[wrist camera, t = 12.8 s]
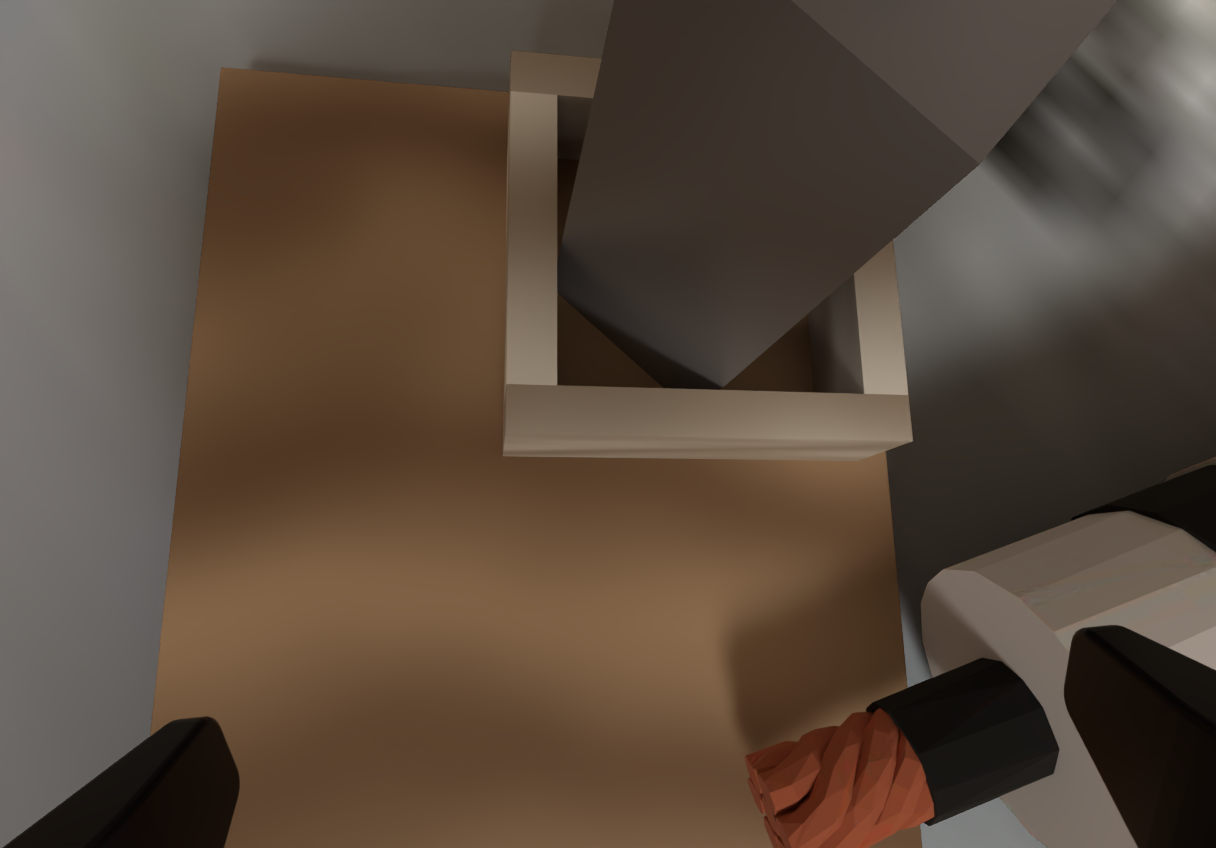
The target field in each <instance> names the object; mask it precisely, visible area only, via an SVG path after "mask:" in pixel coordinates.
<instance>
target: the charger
mask: <svg viewBox="0 0 1216 848" xmlns="http://www.w3.org/2000/svg"><path fill="white" fill-rule="evenodd" d="M1116 1H1117V0H614V5H613V9H612V14H611V18H610V23H609V28H608V32H607V37H606V41H605V46H604V50H603V55H602V60H601V64H600V69H599V73H598V78H597V82H596V87H595V92H594V96H593V101H592V105H591V110H590V114H589V119H588V124H587V128H586V133H585V137H584V142H583V147H582V151H581V156H580V160H579V165H578V169H577V174H576V179H575V183H574V188H573V192H572V197H571V201H570V206H569V211H568V215H567V220H566V224H565V229H564V233H563V238H562V243H561V247H560V252H559V256H558V261H557V293H558V294H559V295H560V296H561V297H562V298H564V299H565V300H566V301H567V302H568V303H569V304H570V305H571V306H573V307H574V308H575V309H576V310H577V311H578V312H579V313H580V314H581V315H583V316H584V317H585V318H586V319H587V320H588V321H589V322H590V323H592V324H593V325H594V326H595V327H596V328H597V329H598V330H599V331H600V332H602V333H603V334H604V335H605V336H606V337H607V338H608V339H609V340H610V341H612V342H613V343H614V344H615V345H616V346H617V347H618V348H619V349H621V350H622V351H623V352H624V353H625V354H626V355H627V356H628V357H629V358H631V359H632V360H633V361H634V362H635V363H636V364H637V365H638V366H640V367H641V368H642V369H643V370H644V371H645V372H646V373H647V374H648V375H650V376H651V377H652V378H653V379H654V380H655V381H656V382H657V383H659V384H660V385H661V386H662V387H663V388H670V389H707V390H721V389H722V388H723V387H724V386H725V385H727V384H728V383H729V382H730V381H731V380H732V379H733V378H735V377H736V376H737V375H738V374H739V373H740V372H742V371H743V370H744V369H745V368H746V367H747V366H748V365H750V364H751V363H752V362H753V361H754V360H755V359H756V358H758V357H759V356H760V355H761V354H762V353H763V352H764V351H766V350H767V349H768V348H769V347H770V346H771V345H773V344H774V343H775V342H776V341H777V340H778V339H779V338H781V337H782V336H783V335H784V334H785V333H786V332H787V331H789V330H790V329H791V328H792V327H793V326H794V325H795V324H797V323H798V322H799V321H800V320H801V319H802V318H804V317H805V316H806V315H807V314H808V313H809V312H810V311H812V310H813V309H814V308H815V307H816V306H817V305H818V304H820V303H821V302H822V301H823V300H824V299H825V298H826V297H828V296H829V295H830V294H831V293H832V292H833V291H835V290H836V289H837V288H838V287H839V286H840V285H841V284H843V283H844V282H845V281H846V280H847V279H848V278H849V277H851V276H852V275H853V274H854V273H855V272H856V271H857V270H859V269H860V268H861V267H862V266H863V265H864V264H866V263H867V262H868V261H869V260H870V259H871V258H872V257H874V256H875V255H876V254H877V253H878V252H879V251H880V250H882V249H883V248H884V247H885V246H886V245H887V244H888V243H890V242H891V241H892V240H893V239H894V238H895V237H897V236H898V235H899V234H900V233H901V232H902V231H903V230H905V229H906V228H907V227H908V226H909V225H910V224H911V223H913V222H914V221H915V220H916V219H917V218H918V217H919V216H921V215H922V214H923V213H924V212H925V211H926V210H928V209H929V208H930V207H931V206H932V205H933V204H934V203H936V202H937V201H938V200H939V199H940V198H941V197H942V196H944V195H945V194H946V193H947V192H948V191H949V190H950V189H952V188H953V187H954V186H955V185H956V184H957V183H959V182H960V181H961V180H962V179H963V178H964V177H965V176H967V175H968V174H969V173H970V172H971V171H972V170H973V169H975V168H976V167H977V166H978V165H979V164H980V163H981V162H982V161H983V159H984V158H985V157H986V156H987V155H988V154H989V152H990V151H991V150H992V149H993V148H994V146H995V145H996V144H997V143H998V142H999V140H1000V139H1001V138H1002V137H1003V136H1004V135H1005V133H1006V132H1007V131H1008V130H1009V129H1010V127H1011V126H1012V125H1013V124H1014V123H1015V121H1016V120H1017V119H1018V118H1019V117H1020V116H1021V114H1022V113H1023V112H1024V111H1025V110H1026V108H1027V107H1028V106H1029V105H1030V104H1031V102H1032V101H1033V100H1034V99H1035V98H1036V97H1037V95H1038V94H1039V93H1040V92H1041V91H1042V89H1043V88H1044V87H1045V86H1046V85H1047V83H1048V82H1049V81H1050V80H1051V79H1052V78H1053V76H1054V75H1055V74H1056V73H1057V72H1058V70H1059V69H1060V68H1061V67H1062V66H1063V64H1064V63H1065V62H1066V61H1067V60H1068V59H1069V57H1070V56H1071V55H1072V54H1073V53H1074V51H1075V50H1076V49H1077V48H1078V47H1079V45H1080V44H1081V43H1082V42H1083V41H1084V40H1085V38H1086V37H1087V36H1088V35H1089V34H1090V32H1091V31H1092V30H1093V29H1094V28H1095V26H1096V25H1097V24H1098V23H1099V22H1100V21H1101V19H1102V18H1103V17H1104V16H1105V15H1106V13H1107V12H1108V11H1109V10H1110V9H1111V7H1112V6H1113V5H1114V4H1115V3H1116Z"/></svg>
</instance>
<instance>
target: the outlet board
mask: <svg viewBox="0 0 1216 848" xmlns="http://www.w3.org/2000/svg"><path fill="white" fill-rule="evenodd" d="M601 60H602V59H600V58H589V57H579V56H568V55H557V54H546V53H536V52H525V51H514V50H511V66H510V86H509V92H504V91H492V90H480V89H468V88H457V87H445V86H433V85H421V84H409V83H398V82H386V81H374V80H362V79H351V78H339V77H327V76H315V75H303V74H292V73H280V72H268V71H256V70H245V69H233V68H221V73H220V83H219V92H218V102H217V111H216V120H215V130H214V139H213V149H212V158H211V168H210V177H209V186H208V196H207V205H206V215H205V224H204V234H203V243H202V252H201V262H200V271H199V281H198V290H197V299H196V309H195V318H194V328H193V337H192V347H191V356H190V365H189V375H188V384H187V394H186V403H185V413H184V422H183V431H182V441H181V450H180V460H179V469H178V478H177V488H176V497H175V507H174V516H173V526H172V535H171V544H170V554H169V563H168V573H167V582H166V592H165V601H164V610H163V620H162V629H161V639H160V648H159V658H158V667H157V676H156V686H155V695H154V705H153V714H152V723H151V733H150V736H151V735H153V734H154V733H155V732H157V731H158V730H159V729H161V728H162V727H163V726H165V725H166V724H167V723H169V722H171V721H173V720H177V719H183V718H193V717H203V716H208V717H213V718H214V719H215V720H216V721H217V722H218V723H219V725H220V726H221V729H222V731H223V734H224V736H225V739H226V741H227V744H228V746H229V749H230V751H231V754H232V756H233V759H234V761H235V763H236V766H237V768H238V772H239V777H240V790H239V796H238V800H237V804H236V807H235V811H234V815H233V818H232V822H231V825H230V829H229V833H228V836H227V840H226V843H225V847H224V848H773V845H772V843H771V841H770V838H769V836H768V833H767V831H766V828H765V826H764V816H767V815H766V812H765V813H762V814H761V812H760V810H759V809H758V807H757V805H756V803H755V801H754V798H753V795H752V793H751V790H750V787H749V784H748V780H747V779H748V778H750V775H749V773H748V769H747V766H746V762H745V755H748V754H751V753H753V752H756V751H759V750H762V749H764V748H767V747H770V746H773V745H775V744H778V743H781V742H784V741H794V742H798V741H799V739H800V738H801V736H802V735H804V734H806V733H808V732H810V731H812V730H814V729H818V728H824V727H829V726H840V725H841V724H842V723H843V722H844V721H845V720H846V719H847V718H848V717H849V716H850V715H851V714H852V713H856V712H866V708H867V707H868V706H869V705H870V704H871V703H872V702H874V701H877V700H879V699H882V698H884V697H887V696H889V695H891V694H894V693H896V692H899V691H901V690H904V689H906V688H907V677H906V666H905V655H904V644H903V633H902V623H901V612H900V601H899V590H898V579H897V568H896V557H895V546H894V535H893V525H892V514H891V503H890V492H889V481H888V470H887V459H886V451H887V450H890V449H892V448H895V447H898V446H901V445H904V444H906V443H909V442H912V441H913V436H912V426H911V416H910V406H909V396H908V386H907V376H906V366H905V356H904V346H903V336H902V326H901V316H900V306H899V296H898V286H897V276H896V266H895V256H894V246H893V240H892V241H891V242H890V243H888V244H887V245H886V246H885V247H884V248H883V249H882V250H880V251H879V252H878V253H877V254H876V255H875V256H874V257H872V258H871V259H870V260H869V261H868V262H867V263H866V264H864V265H863V266H862V267H861V268H860V269H859V270H857V271H856V272H855V273H854V274H853V275H852V276H851V277H849V278H848V279H847V280H846V281H845V282H844V283H843V284H841V285H840V286H839V287H838V288H837V289H836V290H835V291H833V292H832V293H831V294H830V295H829V296H828V297H826V298H825V299H824V300H823V301H822V302H821V303H820V304H818V305H817V306H816V307H815V308H814V309H813V310H812V311H810V312H809V313H808V314H807V315H806V316H805V317H804V318H802V319H801V320H800V321H799V322H798V323H797V324H795V325H794V326H793V327H792V328H791V329H790V330H789V331H787V332H786V333H785V334H784V335H783V336H782V337H781V338H779V339H778V340H777V341H776V342H775V343H774V344H773V345H771V346H770V347H769V348H768V349H767V350H766V351H764V352H763V353H762V354H761V355H760V356H759V357H758V358H756V359H755V360H754V361H753V362H752V363H751V364H750V365H748V366H747V367H746V368H745V369H744V370H743V371H742V372H740V373H739V374H738V375H737V376H736V377H735V378H733V379H732V380H731V381H730V382H729V383H728V384H727V385H725V386H724V387H723V388H722V389H721V390H707V389H670V388H663V387H662V386H661V385H660V384H659V383H657V382H656V381H655V380H654V379H653V378H652V377H651V376H650V375H648V374H647V373H646V372H645V371H644V370H643V369H642V368H641V367H640V366H638V365H637V364H636V363H635V362H634V361H633V360H632V359H631V358H629V357H628V356H627V355H626V354H625V353H624V352H623V351H622V350H621V349H619V348H618V347H617V346H616V345H615V344H614V343H613V342H612V341H610V340H609V339H608V338H607V337H606V336H605V335H604V334H603V333H602V332H600V331H599V330H598V329H597V328H596V327H595V326H594V325H593V324H592V323H590V322H589V321H588V320H587V319H586V318H585V317H584V316H583V315H581V314H580V313H579V312H578V311H577V310H576V309H575V308H574V307H573V306H571V305H570V304H569V303H568V302H567V301H566V300H565V299H564V298H562V297H561V296H560V295H559V294H558V293H557V261H558V256H559V252H560V247H561V243H562V238H563V233H564V229H565V224H566V220H567V215H568V211H569V206H570V201H571V197H572V192H573V188H574V183H575V179H576V174H577V169H578V165H579V160H580V156H581V151H582V147H583V142H584V137H585V133H586V128H587V124H588V119H589V114H590V110H591V105H592V101H593V96H594V92H595V87H596V82H597V78H598V73H599V69H600V64H601ZM869 848H922V840H921V829H920V825H918V826H916V827H912V828H908V829H903V830H898V831H897V832H896V833H894V834H892V835H891V836H889V837H887V838H885V839H883V840H881V841H880V842H878V843H876V844H874V845H872V846H870V847H869Z"/></svg>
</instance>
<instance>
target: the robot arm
mask: <svg viewBox="0 0 1216 848" xmlns="http://www.w3.org/2000/svg"><path fill="white" fill-rule="evenodd" d="M1064 700H1065V705H1066V708H1067V711H1068V713H1069V716H1070V718H1071V720H1072V722H1073V723H1074V725H1075V727H1076V729H1077V731H1078V733H1079V735H1080V737H1081V739H1082V741H1083V743H1084V745H1085V747H1086V749H1087V751H1088V753H1089V755H1090V757H1091V759H1092V760H1093V762H1094V764H1095V766H1096V768H1097V770H1098V772H1099V774H1100V776H1101V778H1102V780H1103V782H1104V784H1105V786H1106V788H1107V790H1108V792H1109V794H1110V795H1111V797H1112V799H1113V801H1114V803H1115V805H1116V807H1117V809H1118V811H1119V813H1120V815H1121V817H1122V819H1123V821H1124V823H1125V825H1126V827H1127V829H1128V831H1129V832H1130V834H1131V836H1132V838H1133V840H1134V842H1135V843H1136V845H1137V847H1138V848H1216V670H1214V669H1212V668H1210V667H1208V666H1206V665H1204V664H1202V663H1200V662H1198V661H1196V660H1193V659H1191V658H1189V657H1187V656H1185V655H1183V654H1181V653H1179V652H1177V651H1174V650H1172V649H1170V648H1168V647H1166V646H1164V645H1162V644H1160V643H1158V642H1155V641H1153V640H1151V639H1149V638H1147V637H1145V636H1143V635H1141V634H1139V633H1137V632H1134V631H1132V630H1130V629H1128V628H1126V627H1123V626H1120V625H1105V626H1095V627H1085V628H1081V629H1079V630H1077V631H1076V632H1075V634H1074V635H1073V637H1072V641H1071V646H1070V652H1069V658H1068V665H1067V671H1066V677H1065V683H1064ZM239 790H240V777H239V772H238V768H237V766H236V763H235V761H234V759H233V756H232V754H231V751H230V749H229V746H228V744H227V741H226V739H225V736H224V734H223V731H222V729H221V726H220V725H219V723H218V722H217V721H216V720H215V719H214V718H213V717H208V716H203V717H193V718H183V719H177V720H173V721H171V722H169V723H167V724H166V725H165V726H163V727H162V728H161V729H159V730H158V731H157V732H155V733H154V734H153V735H151V736H150V737H149V738H147V739H146V740H145V741H143V742H142V743H141V744H139V745H138V746H137V747H135V748H134V749H133V750H131V751H130V752H129V753H127V754H126V755H125V756H123V757H122V758H121V759H119V760H118V761H117V762H115V763H114V764H113V765H112V766H110V767H109V768H108V769H106V770H105V771H104V772H102V773H101V774H100V775H98V776H97V777H96V778H94V779H93V780H92V781H90V782H89V783H88V784H86V785H85V786H84V787H82V788H81V789H80V790H78V791H77V792H76V793H74V794H73V795H72V796H70V797H69V798H68V799H66V800H65V801H64V802H62V803H61V804H60V805H58V806H57V807H56V808H55V809H53V810H52V811H51V812H49V813H48V814H47V815H45V816H44V817H43V818H41V819H40V820H39V821H37V822H36V823H35V824H33V825H32V826H31V827H29V828H28V829H27V830H25V831H24V832H23V833H21V834H20V835H19V836H17V837H16V838H15V839H13V840H12V841H11V842H9V843H8V844H7V845H5V846H4V847H3V848H224V847H225V843H226V840H227V836H228V833H229V829H230V825H231V822H232V818H233V815H234V811H235V807H236V804H237V800H238V796H239Z"/></svg>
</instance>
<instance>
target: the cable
mask: <svg viewBox="0 0 1216 848" xmlns="http://www.w3.org/2000/svg"><path fill="white" fill-rule="evenodd" d="M921 620H922V641H923V645H924V649H925V652H926V656H927V660H928V664H929V667H930V671H931V675H932V678H931V679H928V680H926V681H923V682H921V683H918V684H916V685H914V686H911V687H909V688H906V689H904V690H901V691H899V692H896V693H894V694H891V695H889V696H887V697H884V698H882V699H879V700H877V701H874V702H872V703H871V704H870V705H869V706H868V707H867V708H866V712H856V713H852V714H851V715H850V716H849V717H848V718H847V719H846V720H845V721H844V722H843V723H842V724H841V725H840V726H829V727H824V728H818V729H814V730H812V731H810V732H808V733H806V734H804V735H802V736H801V738H800V739H799V741H798V742H794V741H784V742H781V743H778V744H775V745H773V746H770V747H767V748H764V749H762V750H759V751H756V752H753V753H751V754H748V755H745V762H746V766H747V769H748V773H749V775H750V778H748V779H747V780H748V784H749V787H750V790H751V793H752V795H753V798H754V801H755V803H756V805H757V807H758V809H759V810H760V812H761V814H762V813H765V812H766V815H767V816H764V826H765V828H766V831H767V833H768V836H769V838H770V841H771V843H772V845H773V848H869V847H870V846H872V845H874V844H876V843H878V842H880V841H881V840H883V839H885V838H887V837H889V836H891V835H892V834H894V833H896V832H897V831H898V830H903V829H908V828H912V827H916V826H918V825H920V824H922V823H925V824H927V825H928V826H931V825H933V824H936V823H938V822H940V821H943V820H945V819H948V818H950V817H952V816H955V815H957V814H959V813H962V812H964V811H967V810H969V809H971V808H974V807H976V806H978V805H981V804H983V803H986V802H988V801H990V800H993V799H995V798H997V797H999V798H1000V799H1001V800H1002V801H1003V802H1004V803H1005V805H1006V806H1007V807H1008V808H1009V809H1010V810H1011V812H1012V813H1013V814H1014V815H1015V816H1016V817H1017V819H1018V820H1019V821H1020V822H1021V823H1022V824H1023V826H1024V827H1025V828H1026V829H1027V830H1028V831H1029V833H1030V834H1031V835H1032V836H1034V837H1035V838H1036V839H1037V840H1039V841H1040V842H1041V843H1043V844H1044V845H1045V846H1046V847H1048V848H1138V847H1137V845H1136V843H1135V842H1134V840H1133V838H1132V836H1131V834H1130V832H1129V831H1128V829H1127V827H1126V825H1125V823H1124V821H1123V819H1122V817H1121V815H1120V813H1119V811H1118V809H1117V807H1116V805H1115V803H1114V801H1113V799H1112V797H1111V795H1110V794H1109V792H1108V790H1107V788H1106V786H1105V784H1104V782H1103V780H1102V778H1101V776H1100V774H1099V772H1098V770H1097V768H1096V766H1095V764H1094V762H1093V760H1092V759H1091V757H1090V755H1089V753H1088V751H1087V749H1086V747H1085V745H1084V743H1083V741H1082V739H1081V737H1080V735H1079V733H1078V731H1077V729H1076V727H1075V725H1074V723H1073V722H1072V720H1071V718H1070V716H1069V713H1068V711H1067V708H1066V705H1065V700H1064V683H1065V677H1066V671H1067V665H1068V658H1069V652H1070V646H1071V641H1072V637H1073V635H1074V634H1075V632H1076V631H1077V630H1079V629H1081V628H1085V627H1095V626H1105V625H1120V626H1123V627H1126V628H1128V629H1130V630H1132V631H1134V632H1137V633H1139V634H1141V635H1143V636H1145V637H1147V638H1149V639H1151V640H1153V641H1155V642H1158V643H1160V644H1162V645H1164V646H1166V647H1168V648H1170V649H1172V650H1174V651H1177V652H1179V653H1181V654H1183V655H1185V656H1187V657H1189V658H1191V659H1193V660H1196V661H1198V662H1200V663H1202V664H1204V665H1206V666H1208V667H1210V668H1212V669H1214V670H1216V457H1214V458H1211V459H1209V460H1206V461H1204V462H1201V463H1198V464H1196V465H1193V466H1191V467H1188V468H1185V469H1183V470H1180V471H1178V472H1175V473H1172V474H1170V475H1169V476H1168V477H1167V479H1166V480H1165V481H1164V482H1162V483H1160V484H1157V485H1155V486H1152V487H1150V488H1147V489H1144V490H1142V491H1139V492H1137V493H1134V494H1131V495H1129V496H1126V497H1124V498H1121V499H1119V500H1116V501H1113V502H1111V503H1108V504H1106V505H1103V506H1100V507H1098V508H1095V509H1093V510H1090V511H1088V512H1085V513H1082V514H1080V515H1077V516H1075V517H1073V518H1072V519H1071V521H1070V522H1068V523H1065V524H1062V525H1060V526H1057V527H1054V528H1052V529H1049V530H1046V531H1044V532H1041V533H1038V534H1036V535H1033V536H1030V537H1028V538H1025V539H1022V540H1020V541H1017V542H1014V543H1012V544H1009V545H1006V546H1004V547H1001V548H998V549H996V550H993V551H991V552H988V553H985V554H983V555H980V556H977V557H975V558H972V559H969V560H967V561H964V562H961V563H959V564H956V565H953V566H951V567H948V568H945V569H943V570H942V571H941V572H939V573H938V574H937V575H936V576H935V577H934V578H933V579H931V580H930V581H929V582H928V583H927V586H926V589H925V592H924V595H923V597H922V600H921Z"/></svg>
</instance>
